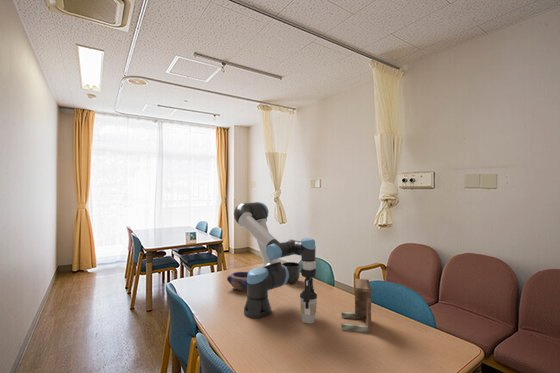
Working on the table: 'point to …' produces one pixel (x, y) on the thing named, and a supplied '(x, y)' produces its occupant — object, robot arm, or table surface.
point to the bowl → (238, 280)
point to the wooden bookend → (360, 307)
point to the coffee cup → (313, 304)
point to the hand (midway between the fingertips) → (309, 308)
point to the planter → (292, 271)
